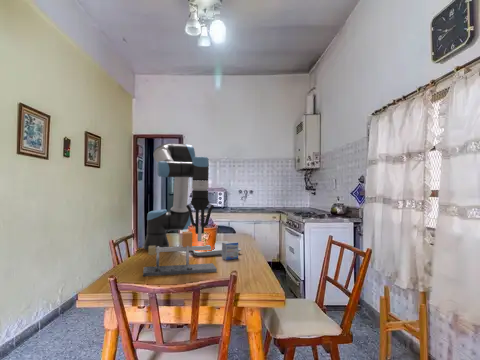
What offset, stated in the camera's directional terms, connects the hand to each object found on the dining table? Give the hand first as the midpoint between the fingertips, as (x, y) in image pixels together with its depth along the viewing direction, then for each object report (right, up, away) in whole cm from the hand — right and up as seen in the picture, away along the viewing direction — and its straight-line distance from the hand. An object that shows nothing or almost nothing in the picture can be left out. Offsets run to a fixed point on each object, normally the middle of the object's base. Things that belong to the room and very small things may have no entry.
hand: (199, 240), depth 147 cm
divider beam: (-8, -11, -3) cm, 14 cm away
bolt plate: (-9, -13, -2) cm, 16 cm away
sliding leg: (-6, -11, -2) cm, 12 cm away
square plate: (+2, -15, +41) cm, 44 cm away
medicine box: (+13, -14, +23) cm, 31 cm away
